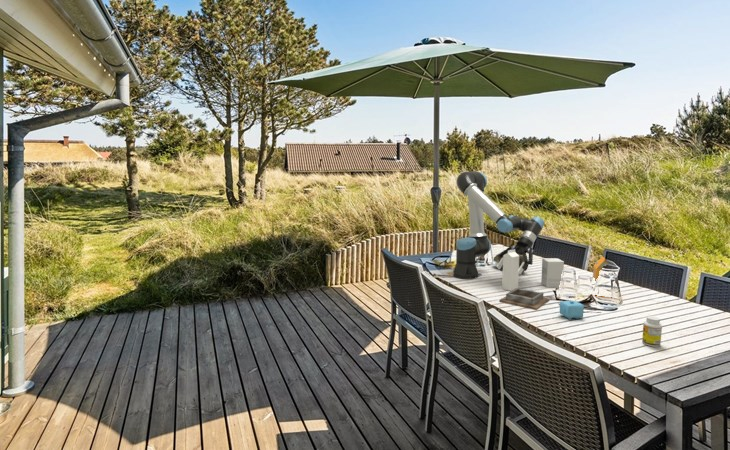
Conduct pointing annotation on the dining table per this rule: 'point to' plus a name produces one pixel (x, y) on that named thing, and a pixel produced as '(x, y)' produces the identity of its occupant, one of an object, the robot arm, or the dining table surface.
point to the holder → (525, 298)
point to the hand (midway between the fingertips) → (508, 270)
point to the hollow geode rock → (521, 260)
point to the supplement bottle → (652, 331)
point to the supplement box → (551, 271)
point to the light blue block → (571, 309)
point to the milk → (510, 270)
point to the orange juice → (599, 267)
